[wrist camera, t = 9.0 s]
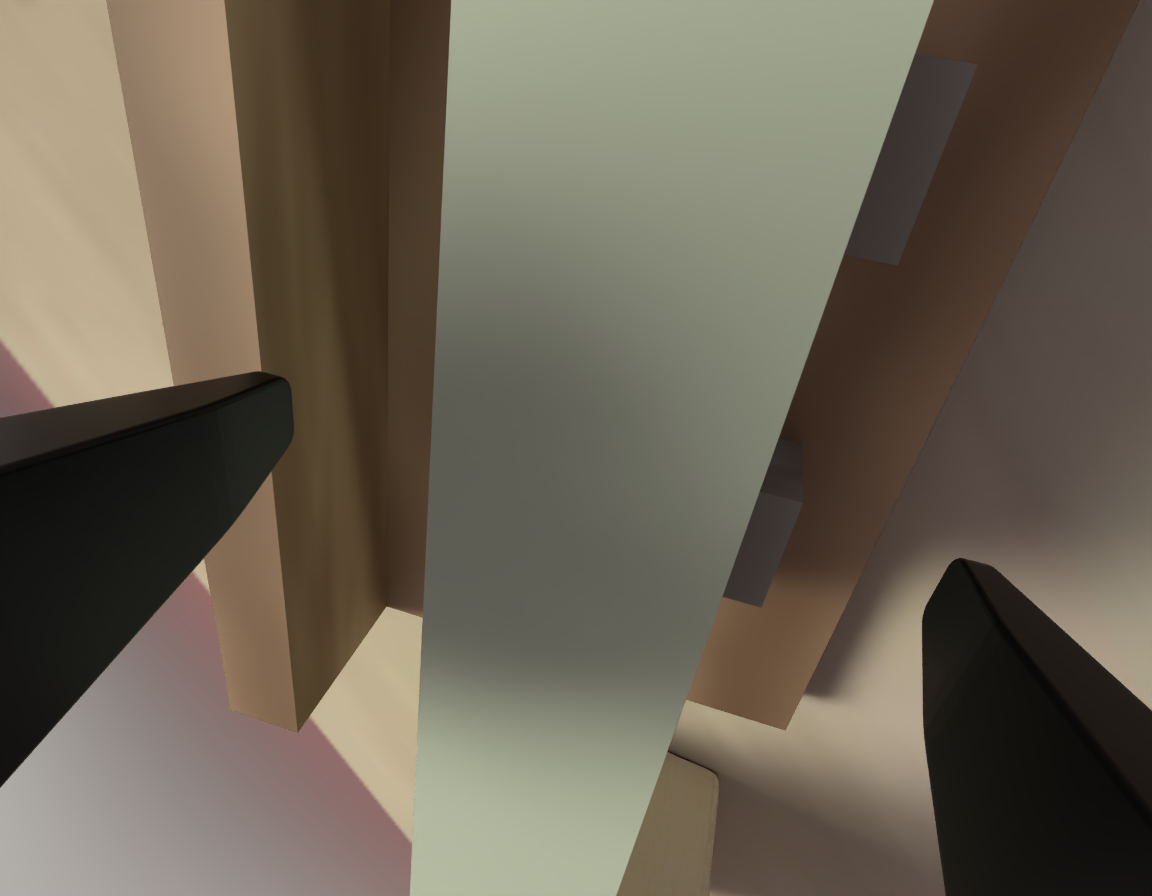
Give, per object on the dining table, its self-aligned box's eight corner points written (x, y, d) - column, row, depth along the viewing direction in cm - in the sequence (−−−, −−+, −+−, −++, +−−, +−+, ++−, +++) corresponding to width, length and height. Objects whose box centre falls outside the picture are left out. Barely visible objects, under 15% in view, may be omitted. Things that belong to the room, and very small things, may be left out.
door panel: (864, -68, 12) (1040, -300, 4) (677, 563, 19) (590, 968, 11) (688, -95, 12) (466, -362, 4) (571, 532, 20) (409, 901, 11)
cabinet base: (1310, -442, 10) (1950, -1022, 4) (785, 691, 23) (784, 900, 17) (271, -519, 12) (-154, -969, 7) (327, 552, 25) (198, 698, 19)
